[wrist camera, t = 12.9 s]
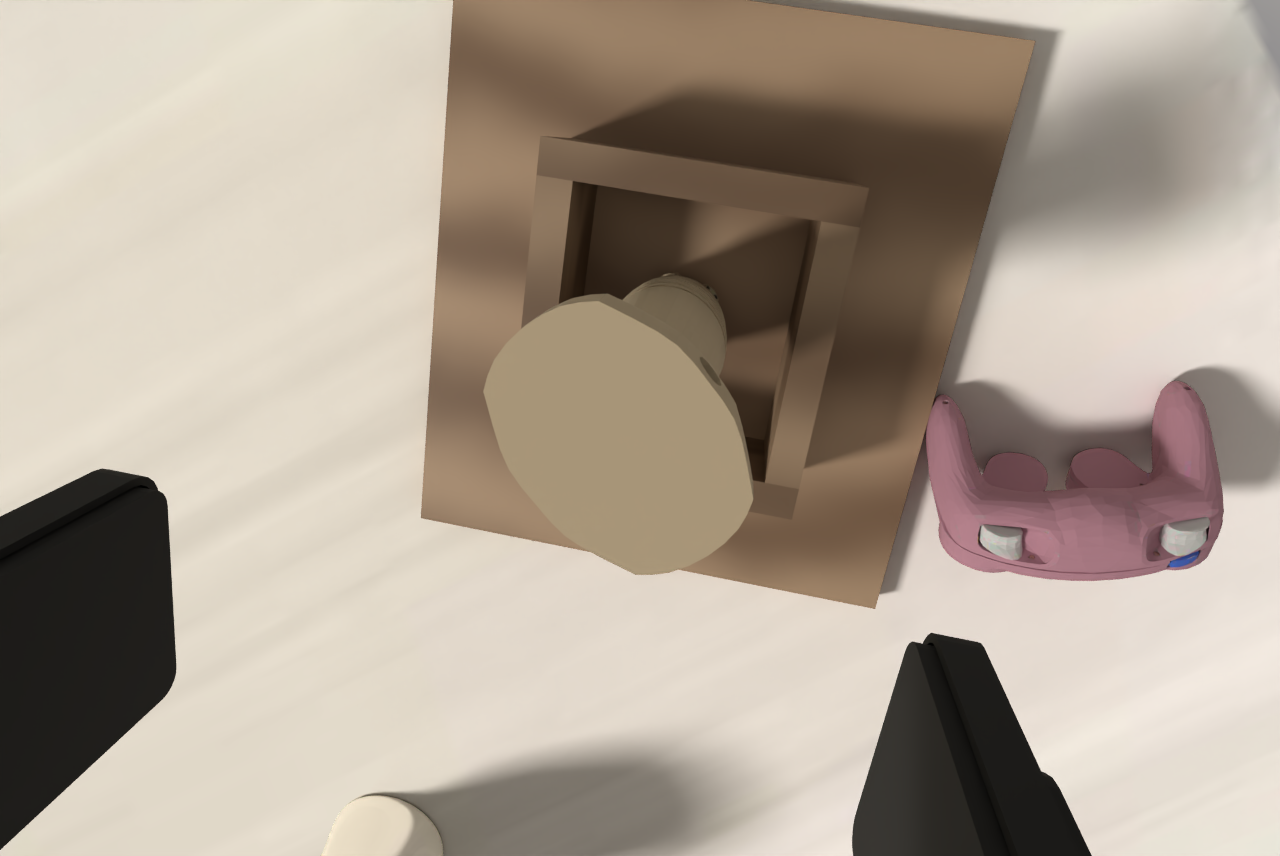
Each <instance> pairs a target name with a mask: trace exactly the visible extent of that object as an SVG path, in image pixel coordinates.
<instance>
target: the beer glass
mask: <svg viewBox="0 0 1280 856" xmlns="http://www.w3.org/2000/svg"><path fill="white" fill-rule="evenodd" d="M321 856H443V845H442V840H441V837H440V835H439V832H438V830H437V829H436V827H435V826H434V824H433V823H432V821H431V820H430V819H429V818H428V817H427V816H426V815H425V814H424V813H423V812H421V811H420V810H419V809H418V808H416V807H414V806H413V805H411V804H409V803H407V802H405V801H403V800H400V799H397V798H394V797H389V796H381V795H373V796H365V797H361V798H358V799H356V800H354V801H352V802H350V803H349V804H347V805H346V806H345V807H344V808H343V809H342V810H341V811H340V813H339V814H338V816H337V818H336V820H335V822H334V824H333V826H332V829H331V831H330V834H329V836H328V839H327V842H326V844H325V847H324V850H323V852H322V854H321Z"/></svg>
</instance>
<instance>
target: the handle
mask: <svg viewBox="0 0 1280 856" xmlns="http://www.w3.org/2000/svg"><path fill="white" fill-rule="evenodd" d="M718 301H719V299H718V296H717V294H716V292H715V290H714V289H713V288H712V287H711V286H710V285H708V284H701V283H699V282H698V281H696V280H694V279H691V278H688V277H684V276H681V275H680V274H679V273H677V272H670V273H667V274H664V275H663V276H662V277H658V278H654V279H652V280H650V281H647V282H645V283H643V284H642V285H640V286H639V287H637V288H636V289H634V290H632V291H631V292H630V293H629V294H628V295H627V296H626V297H625V298H624V299H623V300H620V299H618V298H616V297H614V296H612V295H610V294H591V295H586V296H580V297H575V298H571V299H569V300H567V301H565V302H562V303H560V304H558V305H556V306H553V307H551V308H550V309H548V310H547V311H545V312H544V313H542V314H541V315H539V316H538V317H536V318H535V319H533V320H532V321H531V322H529V323H528V324H526V325H525V326H524V327H523V328H522V329H521V330H519V331H518V332H517V333H516V334H515V335H514V336H513V337H512V338H511V339H510V340H509V341H508V342H507V343H506V344H505V346H504V347H503V348H502V350H501V351H500V352H499V354H498V355H497V356H496V358H495V359H494V361H493V364H492V366H491V368H490V371H489V373H488V376H487V379H486V383H485V387H484V391H483V392H484V396H485V399H486V403H487V407H488V410H489V414H490V418H491V421H492V425H493V428H494V431H495V435H496V438H497V441H498V445H499V448H500V451H501V453H502V455H503V458H504V460H505V462H506V464H507V467H508V469H509V471H510V472H511V473H512V475H513V476H514V478H515V479H516V481H517V482H518V484H519V485H520V486H521V488H522V489H523V490H524V491H525V492H526V494H527V495H528V496H529V497H530V498H531V500H532V501H533V502H534V503H535V504H536V505H537V507H538V508H539V509H540V510H541V511H542V513H543V514H544V515H545V516H546V517H547V519H548V520H549V521H550V522H551V523H552V524H553V525H554V526H555V527H556V528H557V529H558V530H559V531H560V532H561V533H562V534H563V535H564V536H566V537H567V538H569V539H570V540H572V541H573V542H575V543H576V544H578V545H579V546H581V547H582V548H584V549H586V550H588V551H590V552H592V553H594V554H595V555H597V556H599V557H601V558H603V559H605V560H607V561H609V562H611V563H613V564H615V565H617V566H619V567H621V568H623V569H625V570H627V571H629V572H631V573H633V574H635V575H654V574H662V573H670V572H673V571H675V570H678V569H681V568H684V567H687V566H690V565H692V564H694V563H695V562H697V561H699V560H701V559H703V558H705V557H707V556H708V555H710V554H711V553H712V552H714V551H715V550H716V549H718V548H719V547H721V546H722V545H723V544H725V543H726V542H727V541H728V539H729V538H730V537H731V536H732V535H733V534H734V533H735V532H736V531H737V530H738V529H739V527H740V526H741V524H742V522H743V521H744V519H745V517H746V516H747V514H748V511H749V509H750V507H751V504H752V502H753V495H754V488H753V479H752V473H751V467H750V461H749V456H748V450H747V445H746V441H745V436H744V432H743V427H742V423H741V420H740V416H739V413H738V409H737V406H736V403H735V401H734V399H733V398H732V396H731V394H730V393H729V391H728V389H727V388H726V386H725V385H724V383H723V382H722V380H721V379H720V377H719V375H720V373H721V371H722V368H723V364H724V360H725V355H726V345H727V334H726V324H725V319H724V315H723V312H722V309H721V307H720V305H719V303H718Z"/></svg>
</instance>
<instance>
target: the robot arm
mask: <svg viewBox="0 0 1280 856" xmlns="http://www.w3.org/2000/svg"><path fill="white" fill-rule="evenodd" d="M175 675H176V651H175V633H174V615H173V597H172V578H171V560H170V542H169V524H168V505H167V500H166V498H165V496H164V494H163V493H161V492H160V491H158V488H157V486H156V485H155V483H154V481H153V480H151V479H150V478H148V477H144V476H139V475H134V474H129V473H124V472H119V471H113V470H108V469H99V470H96V471H93V472H91V473H89V474H87V475H85V476H83V477H81V478H79V479H77V480H74V481H72V482H70V483H68V484H66V485H64V486H62V487H60V488H58V489H56V490H54V491H52V492H50V493H48V494H46V495H44V496H42V497H40V498H38V499H35V500H33V501H31V502H29V503H27V504H25V505H23V506H21V507H19V508H17V509H15V510H13V511H11V512H9V513H7V514H5V515H3V516H1V517H0V850H1V849H2V848H3V847H4V846H5V845H6V844H7V843H8V842H9V841H10V840H11V839H12V838H14V837H15V836H16V835H17V834H18V833H19V832H20V831H21V830H22V829H23V828H24V827H25V826H26V825H28V824H29V823H30V822H31V821H32V820H33V819H34V818H35V817H36V816H37V815H38V814H39V813H40V812H42V811H43V810H44V809H45V808H46V807H47V806H48V805H49V804H50V803H51V802H52V801H53V800H54V799H56V798H57V797H58V796H59V795H60V794H61V793H62V792H63V791H64V790H65V789H66V788H67V787H68V786H70V785H71V784H72V783H73V782H74V781H75V780H76V779H77V778H78V777H79V776H80V775H81V774H82V773H84V772H85V771H86V770H87V769H88V768H89V767H90V766H91V765H92V764H93V763H94V762H95V761H96V760H98V759H99V758H100V757H101V756H102V755H103V754H104V753H105V752H106V751H107V750H108V749H109V748H110V747H112V746H113V745H114V744H115V743H116V742H117V741H118V740H119V739H120V738H121V737H122V736H123V735H124V734H126V733H127V732H128V731H129V730H130V729H131V728H132V727H133V726H134V725H135V724H136V723H137V722H138V721H140V720H141V719H142V718H143V717H144V716H145V715H146V714H147V713H148V712H149V711H150V710H151V709H153V708H154V707H155V706H156V705H157V704H158V703H159V702H160V701H161V700H162V699H163V698H164V697H165V696H166V695H167V693H168V691H169V690H170V688H171V686H172V684H173V682H174V679H175ZM852 848H853V856H1092V855H1091V853H1090V851H1089V849H1088V847H1087V845H1086V843H1085V841H1084V839H1083V837H1082V834H1081V832H1080V830H1079V828H1078V826H1077V824H1076V822H1075V820H1074V818H1073V816H1072V813H1071V811H1070V809H1069V807H1068V805H1067V803H1066V801H1065V799H1064V797H1063V795H1062V792H1061V790H1060V788H1059V787H1058V785H1057V784H1056V782H1055V781H1054V779H1053V778H1052V777H1051V776H1049V775H1048V774H1046V773H1044V772H1041V770H1040V768H1039V766H1038V764H1037V762H1036V759H1035V757H1034V755H1033V753H1032V751H1031V748H1030V746H1029V744H1028V742H1027V740H1026V738H1025V735H1024V733H1023V731H1022V729H1021V727H1020V725H1019V722H1018V720H1017V718H1016V716H1015V714H1014V711H1013V709H1012V707H1011V705H1010V703H1009V701H1008V698H1007V696H1006V694H1005V692H1004V690H1003V687H1002V685H1001V683H1000V681H999V679H998V677H997V674H996V672H995V670H994V668H993V666H992V664H991V661H990V659H989V657H988V655H987V653H986V650H985V648H984V647H983V645H982V644H981V643H978V642H974V641H969V640H964V639H959V638H954V637H949V636H944V635H939V634H934V633H930V634H929V635H927V637H926V639H925V640H924V642H923V644H921V643H916V642H911V643H909V645H908V646H907V649H906V651H905V654H904V657H903V660H902V664H901V667H900V670H899V674H898V677H897V680H896V683H895V687H894V690H893V693H892V697H891V700H890V703H889V706H888V710H887V713H886V716H885V720H884V723H883V726H882V730H881V733H880V736H879V739H878V743H877V746H876V749H875V753H874V756H873V759H872V762H871V766H870V769H869V772H868V776H867V779H866V782H865V785H864V789H863V792H862V795H861V799H860V802H859V805H858V808H857V812H856V815H855V819H854V825H853V835H852Z"/></svg>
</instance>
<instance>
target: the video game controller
mask: <svg viewBox="0 0 1280 856" xmlns="http://www.w3.org/2000/svg"><path fill="white" fill-rule="evenodd" d="M926 448H927V458H928V466H929V476H930V481H931V486H932V490H933V494H934V499H935V503H936V507H937V512H938V516H939V520H940V523H939V538H940V542H941V544H942V546H943V548H944V549H945V551H946V552H947V553H948V554H949V555H950V556H951V557H952V558H953V559H955V560H956V561H958V562H959V563H961V564H963V565H966V566H968V567H970V568H973V569H975V570H979V571H983V572H992V573H995V572H1004V571H1009V572H1013V573H1017V574H1020V575H1026V576H1032V577H1039V578H1045V579H1057V580H1071V581H1097V580H1113V579H1123V578H1130V577H1136V576H1142V575H1147V574H1152V573H1156V572H1159V571H1163V570H1166V569H1167V570H1181V569H1188V568H1191V567H1193V566H1196V565H1198V564H1200V563H1201V562H1202V561H1203V560H1205V559H1206V558H1207V556H1208V555H1209V553H1210V551H1211V549H1212V547H1213V545H1214V543H1215V540H1216V539H1217V537H1218V535H1219V532H1220V529H1221V526H1222V522H1223V520H1222V517H1223V512H1224V509H1223V493H1222V486H1221V481H1220V475H1219V469H1218V464H1217V459H1216V453H1215V448H1214V443H1213V439H1212V434H1211V429H1210V425H1209V420H1208V417H1207V414H1206V410H1205V407H1204V404H1203V403H1202V401H1201V400H1200V398H1199V396H1198V395H1197V393H1196V392H1195V391H1194V390H1193V389H1192V388H1191V387H1190V386H1189V385H1187V384H1186V383H1183V382H1181V381H1173V382H1170V383H1169V384H1167V385H1166V386H1165V387H1164V388H1163V389H1162V391H1161V393H1160V396H1159V398H1158V400H1157V403H1156V406H1155V411H1154V416H1153V421H1152V468H1153V470H1152V472H1151V473H1146V472H1145V471H1143V470H1142V469H1140V468H1139V467H1137V466H1136V465H1135V464H1134V463H1132V462H1131V461H1130V460H1129V459H1128V458H1126V457H1125V456H1123V455H1122V454H1120V453H1118V452H1116V451H1113V450H1109V449H1104V448H1093V449H1087V450H1084V451H1082V452H1080V453H1078V454H1077V455H1075V456H1074V458H1073V459H1072V462H1071V466H1070V469H1069V472H1068V475H1067V478H1066V488H1067V490H1056V491H1045V489H1046V486H1047V483H1048V475H1047V472H1046V469H1045V467H1044V466H1043V465H1042V464H1041V463H1040V462H1039V461H1038V460H1036V459H1035V458H1033V457H1030V456H1027V455H1024V454H1021V453H1012V452H1007V453H1000V454H997V455H995V456H993V457H992V458H991V459H990V460H989V461H988V463H987V465H986V467H985V470H984V473H983V475H981V473H980V471H979V469H978V466H977V464H976V461H975V459H974V456H973V453H972V449H971V445H970V441H969V436H968V432H967V428H966V424H965V420H964V417H963V415H962V414H961V412H960V410H959V408H958V406H957V404H956V403H955V402H954V401H953V400H952V399H951V398H950V397H949V396H947V395H944V394H943V395H939V396H937V397H936V398H935V399H934V402H933V405H932V409H931V412H930V416H929V419H928V423H927V426H926Z"/></svg>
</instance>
